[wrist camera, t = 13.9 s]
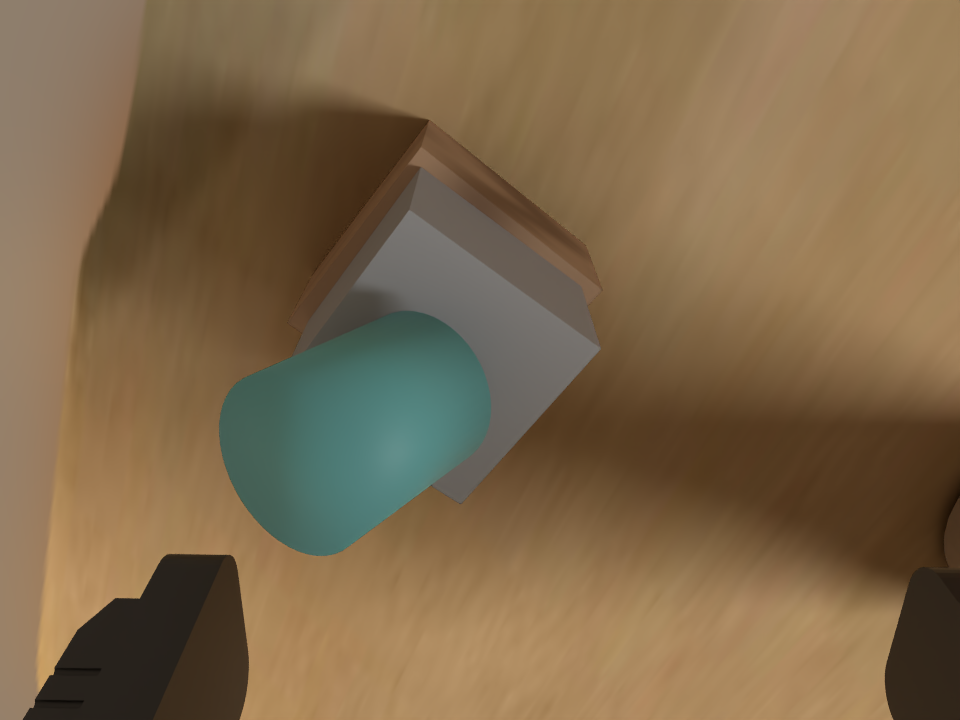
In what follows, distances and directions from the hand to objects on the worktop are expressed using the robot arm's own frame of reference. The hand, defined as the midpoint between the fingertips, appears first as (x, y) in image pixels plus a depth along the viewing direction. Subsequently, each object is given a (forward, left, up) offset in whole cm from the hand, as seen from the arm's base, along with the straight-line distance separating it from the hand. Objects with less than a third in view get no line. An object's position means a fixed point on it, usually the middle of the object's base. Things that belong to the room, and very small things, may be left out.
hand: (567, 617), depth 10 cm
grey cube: (-2, +3, -19) cm, 19 cm away
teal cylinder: (-2, +4, -12) cm, 13 cm away
